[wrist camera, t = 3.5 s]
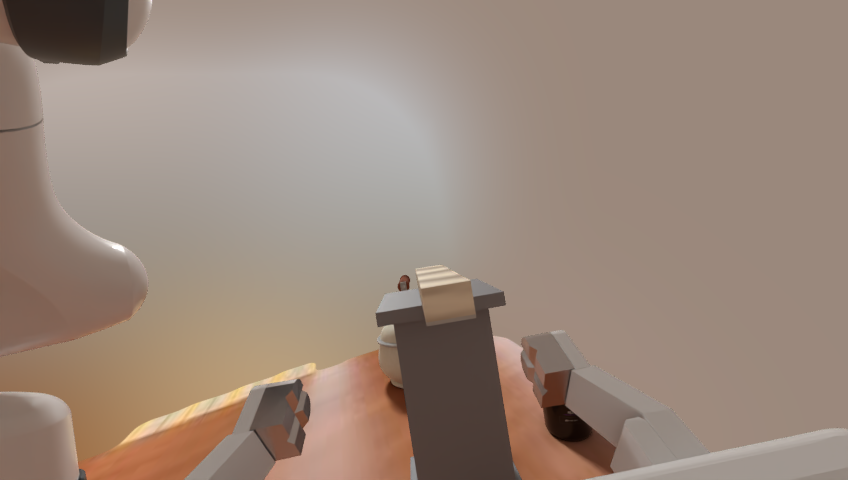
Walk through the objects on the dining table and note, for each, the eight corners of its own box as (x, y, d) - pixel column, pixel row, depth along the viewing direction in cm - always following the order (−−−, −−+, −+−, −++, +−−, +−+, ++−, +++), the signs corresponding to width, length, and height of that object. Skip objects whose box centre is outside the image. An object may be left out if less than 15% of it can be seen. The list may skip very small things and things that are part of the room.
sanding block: (476, 317, 24) (470, 280, 24) (426, 326, 24) (420, 288, 24) (444, 284, 45) (441, 264, 45) (418, 288, 45) (415, 269, 45)
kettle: (461, 390, 65) (443, 276, 65) (377, 405, 64) (359, 289, 65) (448, 350, 90) (435, 267, 90) (387, 360, 89) (374, 277, 89)
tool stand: (542, 530, 32) (503, 291, 33) (413, 558, 31) (375, 313, 32) (503, 449, 45) (476, 278, 46) (412, 467, 44) (385, 293, 45)
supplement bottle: (584, 449, 43) (570, 365, 43) (538, 432, 48) (526, 357, 48) (599, 424, 47) (587, 348, 48) (556, 411, 52) (545, 343, 53)
